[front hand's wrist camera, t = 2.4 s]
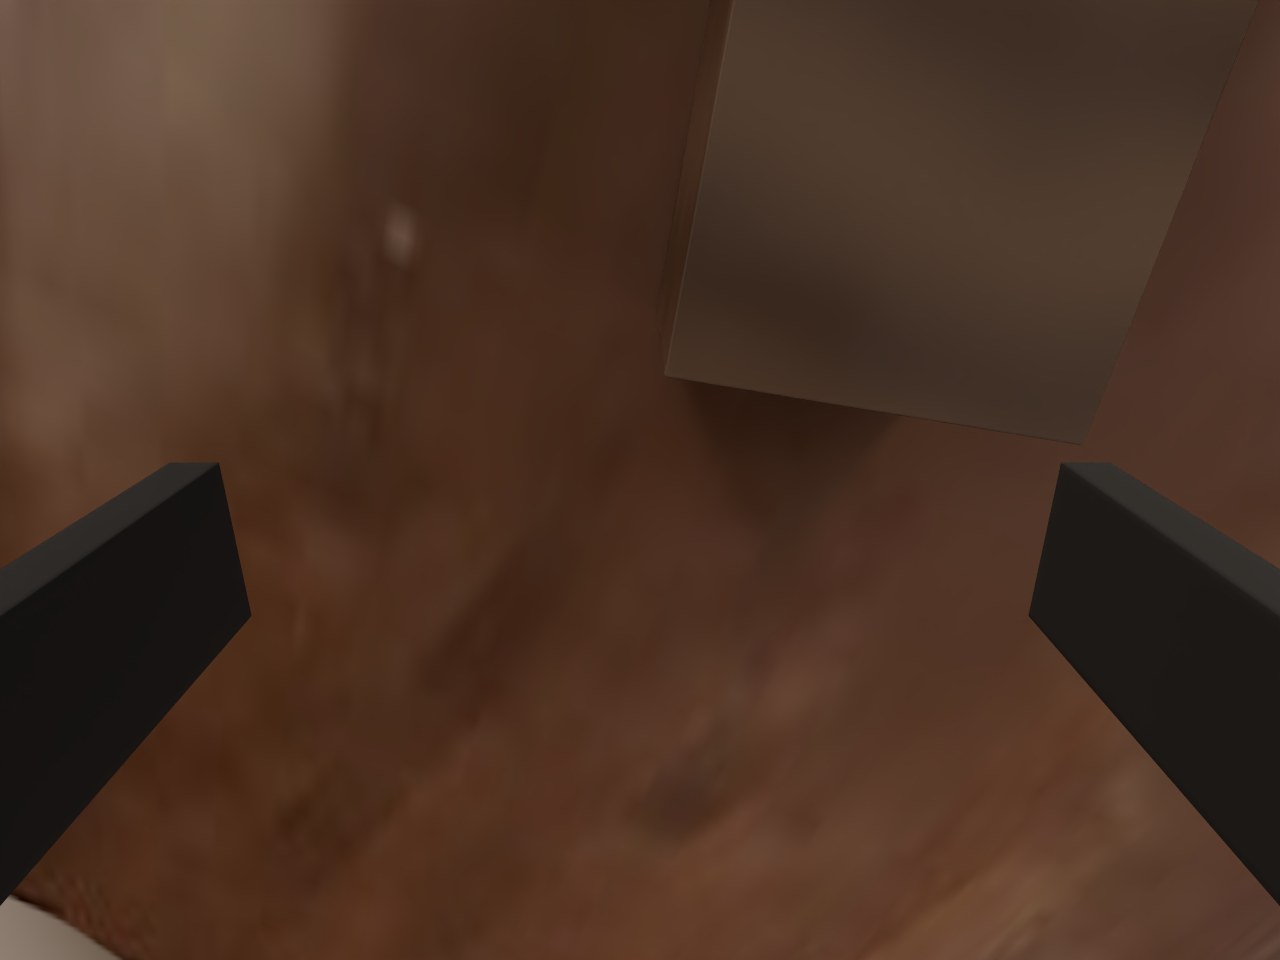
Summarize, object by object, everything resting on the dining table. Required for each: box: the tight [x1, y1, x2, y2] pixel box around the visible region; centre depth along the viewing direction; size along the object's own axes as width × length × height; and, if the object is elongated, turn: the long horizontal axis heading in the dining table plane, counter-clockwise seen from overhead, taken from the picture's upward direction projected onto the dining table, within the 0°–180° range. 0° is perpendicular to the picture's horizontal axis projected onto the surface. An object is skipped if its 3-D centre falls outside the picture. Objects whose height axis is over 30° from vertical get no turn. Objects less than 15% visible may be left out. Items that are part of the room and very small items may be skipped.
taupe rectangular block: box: [657, 0, 1259, 445], centre depth 21 cm, size 18×11×10 cm, turn 170°
